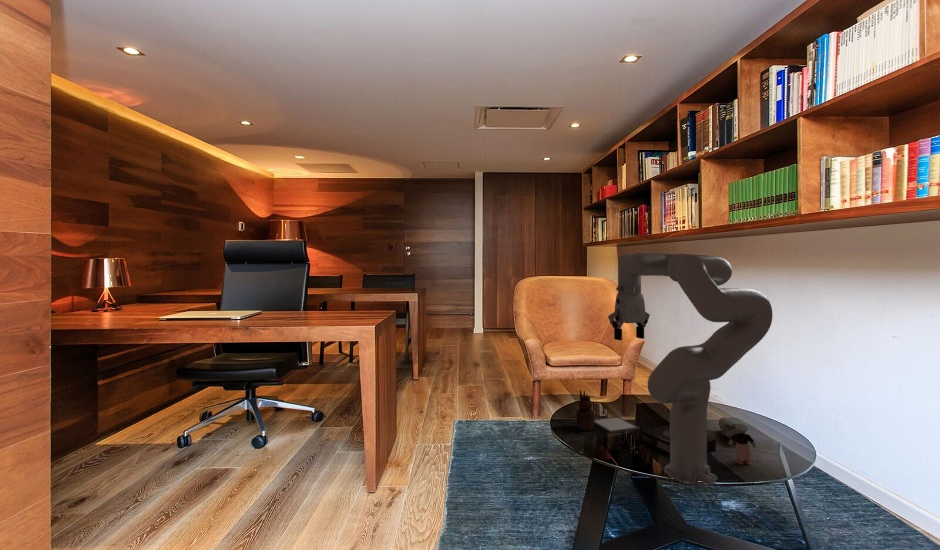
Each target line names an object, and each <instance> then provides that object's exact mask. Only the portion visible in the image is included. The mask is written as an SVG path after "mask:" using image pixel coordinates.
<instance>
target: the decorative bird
mask: <svg viewBox="0 0 940 550" xmlns="http://www.w3.org/2000/svg"><path fill="white" fill-rule="evenodd" d="M736 423H737V422H735V421H733V420H731V419H729V418H728V417H725V416H724V417H720V419H719V421H718V426H719V429H720V432H721V434H722V435H723V436H725V437H726V438H728V439H730V438H731V437H732V436H733V435H734V434H739V432H738V431H737V429H736V427H735V425H736ZM728 445H729V444H728ZM728 445H727V446H728ZM732 445H734V446H736V443H735V442H733V443H732ZM729 446H730V445H729Z"/></svg>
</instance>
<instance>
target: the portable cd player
mask: <svg viewBox="0 0 940 550" xmlns="http://www.w3.org/2000/svg"><path fill="white" fill-rule="evenodd" d="M639 430H640V431H639V437H638V438H639V441H641V442H643V443H645V444H647V445H649V446H651V447H653V448H655V449H657V450H659V451H661V452H663V453H665V454H667V455H669V456H670V424H668V425H662V426H656V427H652V428H651V427H650V428H644V429H639ZM716 443H717V441H716V439H713V438H712V437H708V436H707V454H708V452H709V453H712V452H716V451H717V448H716V447H717V445H716Z"/></svg>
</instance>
